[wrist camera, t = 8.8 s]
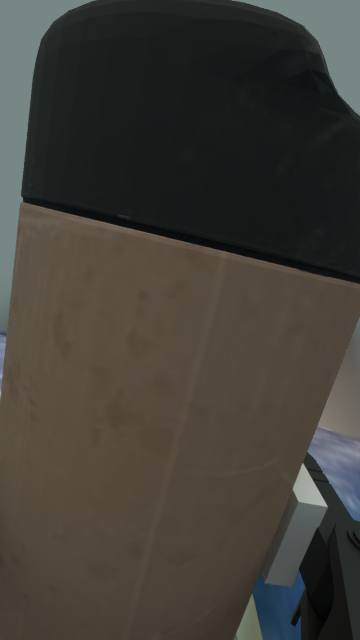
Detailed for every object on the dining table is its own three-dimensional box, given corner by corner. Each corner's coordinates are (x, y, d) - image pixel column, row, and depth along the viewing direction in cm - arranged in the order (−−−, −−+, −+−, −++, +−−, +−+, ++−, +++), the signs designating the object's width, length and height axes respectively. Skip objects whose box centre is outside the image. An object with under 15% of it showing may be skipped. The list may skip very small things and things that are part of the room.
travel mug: (69, 560, 16) (143, 160, 11) (203, 640, 14) (366, 199, 9) (-98, 794, 9) (-104, -25, 4) (124, 1021, 7) (662, -28, 2)
